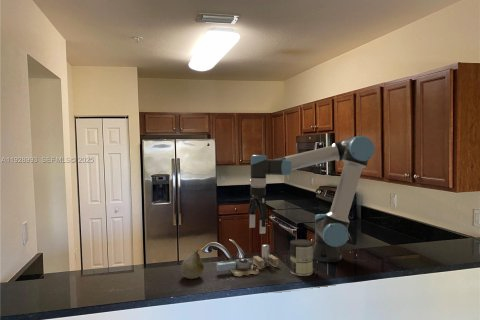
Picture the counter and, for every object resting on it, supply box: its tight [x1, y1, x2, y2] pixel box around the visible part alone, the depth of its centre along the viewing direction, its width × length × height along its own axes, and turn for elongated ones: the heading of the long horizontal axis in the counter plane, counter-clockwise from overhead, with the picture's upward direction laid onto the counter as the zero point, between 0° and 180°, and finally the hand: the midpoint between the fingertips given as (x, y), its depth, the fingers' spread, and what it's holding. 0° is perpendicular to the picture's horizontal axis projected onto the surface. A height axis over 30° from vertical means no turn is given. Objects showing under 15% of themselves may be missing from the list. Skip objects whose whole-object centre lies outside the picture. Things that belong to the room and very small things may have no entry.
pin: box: [261, 244, 270, 266], centre depth 172 cm, size 4×4×10 cm
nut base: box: [229, 265, 260, 277], centre depth 164 cm, size 11×11×3 cm
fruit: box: [180, 249, 205, 280], centre depth 156 cm, size 10×9×12 cm
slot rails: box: [252, 254, 279, 270], centre depth 172 cm, size 10×8×4 cm
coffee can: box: [289, 238, 314, 277], centre depth 162 cm, size 10×10×14 cm
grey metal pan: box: [216, 257, 253, 272], centre depth 162 cm, size 16×8×4 cm, turn 109°
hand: (257, 230), depth 171 cm, fingers open, 13 cm apart
